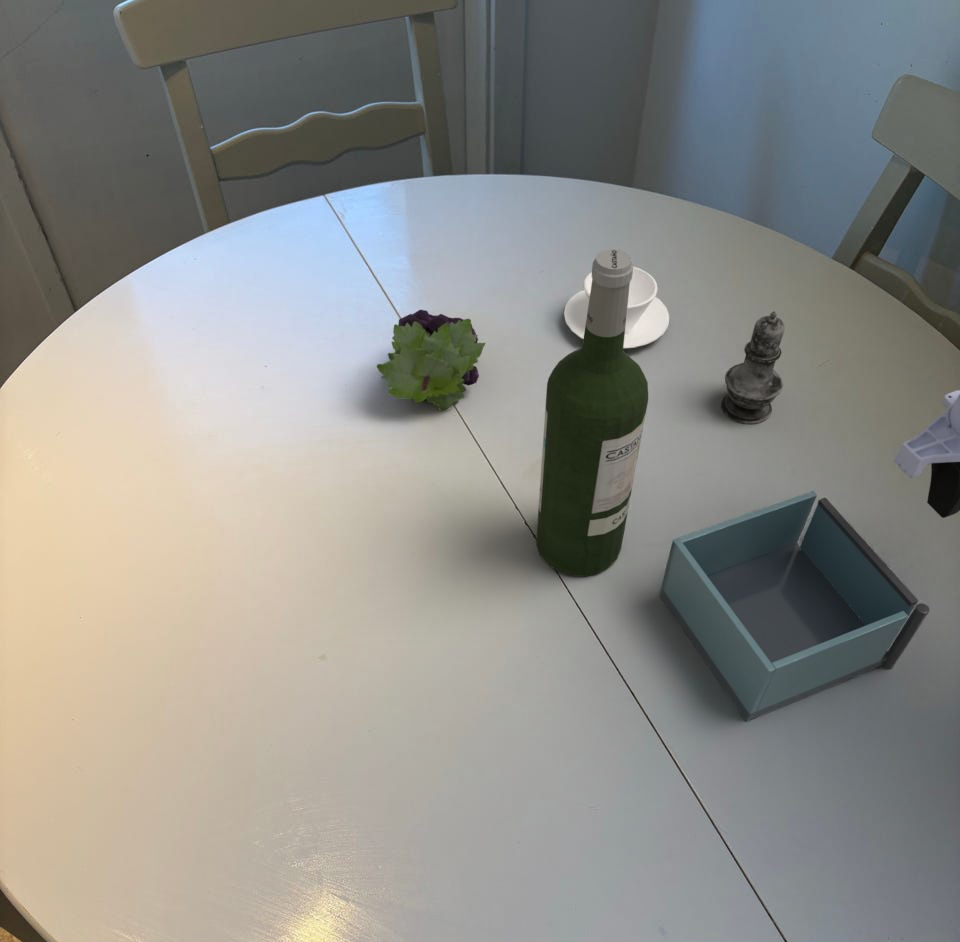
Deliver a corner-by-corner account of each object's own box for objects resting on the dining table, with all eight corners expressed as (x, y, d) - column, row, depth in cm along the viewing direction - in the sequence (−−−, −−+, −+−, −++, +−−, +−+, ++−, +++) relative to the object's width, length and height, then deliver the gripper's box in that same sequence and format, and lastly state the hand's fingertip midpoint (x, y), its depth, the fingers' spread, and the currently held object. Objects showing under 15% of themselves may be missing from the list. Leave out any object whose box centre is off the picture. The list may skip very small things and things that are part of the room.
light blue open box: (896, 666, 77) (932, 610, 71) (749, 727, 74) (774, 674, 67) (794, 545, 85) (819, 485, 79) (658, 594, 82) (673, 536, 76)
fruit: (472, 374, 105) (473, 438, 93) (380, 361, 104) (369, 423, 92) (487, 288, 99) (490, 344, 87) (390, 272, 98) (379, 327, 86)
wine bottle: (614, 585, 83) (666, 301, 59) (528, 569, 84) (545, 284, 60) (626, 521, 87) (678, 234, 64) (544, 507, 88) (566, 220, 65)
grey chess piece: (708, 395, 98) (732, 299, 89) (758, 384, 99) (786, 288, 90) (734, 431, 95) (761, 335, 86) (784, 419, 96) (817, 323, 87)
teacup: (666, 297, 109) (673, 257, 105) (668, 361, 102) (676, 321, 98) (565, 291, 110) (569, 251, 106) (560, 354, 103) (563, 314, 99)
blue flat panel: (902, 640, 77) (930, 595, 72) (884, 648, 77) (911, 603, 72) (815, 540, 84) (836, 493, 79) (799, 546, 83) (818, 499, 78)
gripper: (1053, 320, 69) (976, 451, 80) (896, 370, 65) (838, 500, 76) (1127, 376, 65) (1036, 506, 76) (964, 433, 61) (893, 561, 72)
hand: (941, 507), depth 76 cm, fingers closed
